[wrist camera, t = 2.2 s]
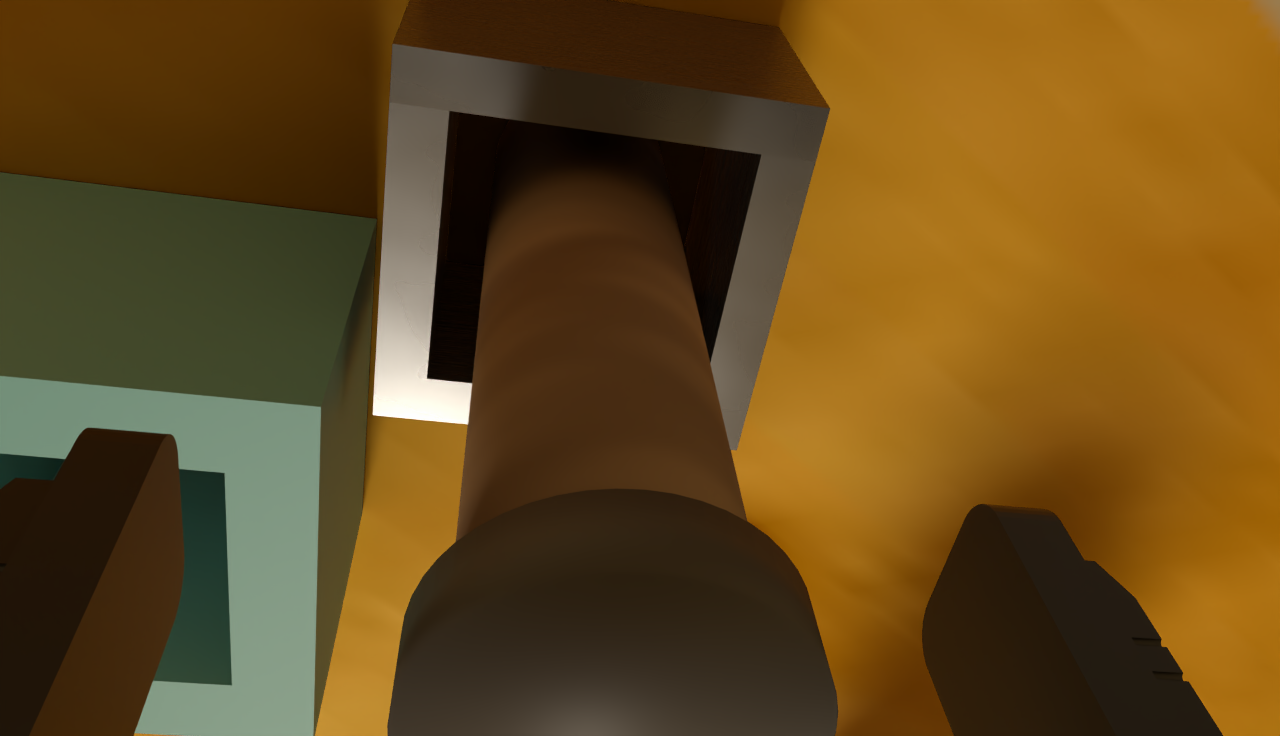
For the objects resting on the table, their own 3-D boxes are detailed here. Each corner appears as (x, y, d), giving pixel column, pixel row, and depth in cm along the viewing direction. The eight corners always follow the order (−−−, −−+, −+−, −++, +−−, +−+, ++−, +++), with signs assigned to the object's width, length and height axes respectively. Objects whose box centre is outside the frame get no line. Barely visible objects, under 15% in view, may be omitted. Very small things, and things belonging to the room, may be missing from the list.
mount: (778, 27, 19) (829, 108, 15) (706, 328, 22) (736, 450, 18) (420, -30, 18) (392, 43, 14) (399, 293, 21) (372, 414, 18)
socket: (376, 218, 20) (321, 407, 15) (362, 512, 24) (313, 742, 19) (-37, 168, 19) (-246, 352, 14) (15, 483, 23) (-136, 718, 18)
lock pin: (702, 80, 19) (892, 592, 9) (662, 273, 21) (779, 879, 11) (483, 48, 18) (401, 552, 8) (463, 249, 20) (376, 865, 10)
